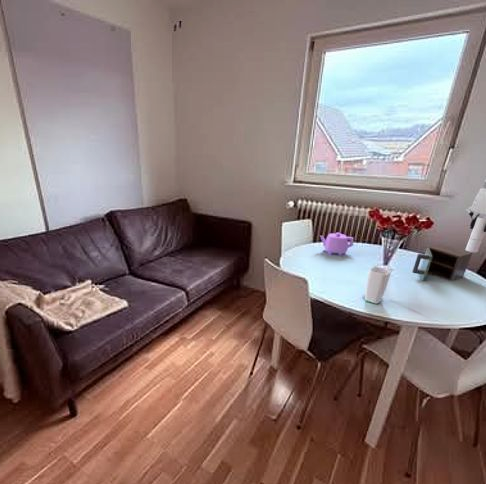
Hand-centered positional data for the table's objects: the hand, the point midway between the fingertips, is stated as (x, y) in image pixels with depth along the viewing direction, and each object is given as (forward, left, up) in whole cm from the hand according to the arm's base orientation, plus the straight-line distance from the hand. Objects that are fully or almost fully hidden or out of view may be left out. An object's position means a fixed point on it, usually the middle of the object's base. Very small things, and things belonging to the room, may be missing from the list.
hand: (479, 229), depth 134 cm
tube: (0, 0, -10) cm, 10 cm away
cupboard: (+15, -17, -31) cm, 38 cm away
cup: (+12, +42, -31) cm, 54 cm away
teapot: (+65, +9, -31) cm, 73 cm away
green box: (+20, -3, -31) cm, 37 cm away
